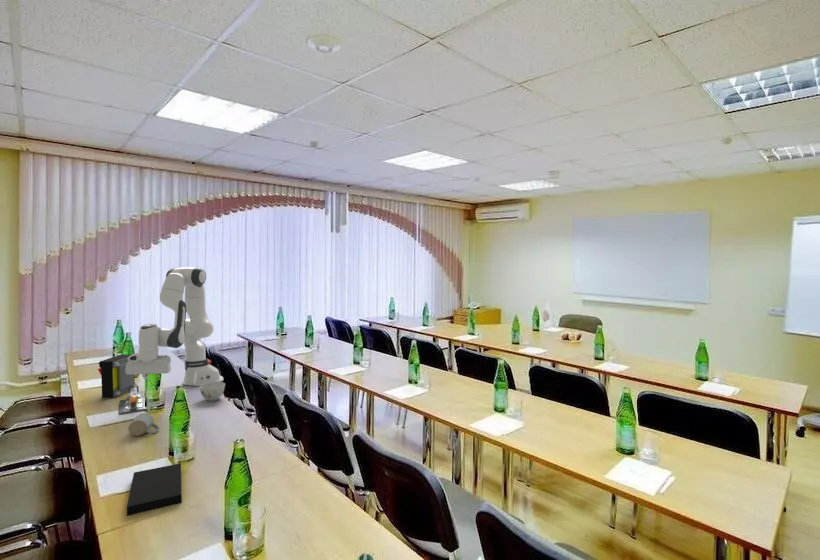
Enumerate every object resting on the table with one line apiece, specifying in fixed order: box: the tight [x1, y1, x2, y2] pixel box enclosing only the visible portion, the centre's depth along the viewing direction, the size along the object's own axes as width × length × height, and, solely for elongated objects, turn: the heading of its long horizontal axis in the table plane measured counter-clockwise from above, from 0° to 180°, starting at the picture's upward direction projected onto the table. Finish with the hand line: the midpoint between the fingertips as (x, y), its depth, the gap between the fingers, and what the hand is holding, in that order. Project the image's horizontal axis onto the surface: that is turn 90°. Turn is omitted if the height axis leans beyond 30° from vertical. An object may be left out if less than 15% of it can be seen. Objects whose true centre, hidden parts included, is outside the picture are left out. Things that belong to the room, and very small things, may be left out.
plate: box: [118, 396, 148, 415], centre depth 218 cm, size 12×22×1 cm, turn 33°
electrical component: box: [97, 353, 138, 399], centre depth 239 cm, size 18×10×20 cm, turn 179°
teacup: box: [199, 381, 226, 402], centre depth 228 cm, size 15×12×8 cm
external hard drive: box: [126, 463, 183, 517], centre depth 138 cm, size 14×23×3 cm, turn 29°
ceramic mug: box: [128, 412, 160, 437], centre depth 184 cm, size 11×8×8 cm
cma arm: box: [128, 385, 139, 404], centre depth 223 cm, size 25×4×3 cm, turn 33°
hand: (148, 382), depth 220 cm, fingers closed
